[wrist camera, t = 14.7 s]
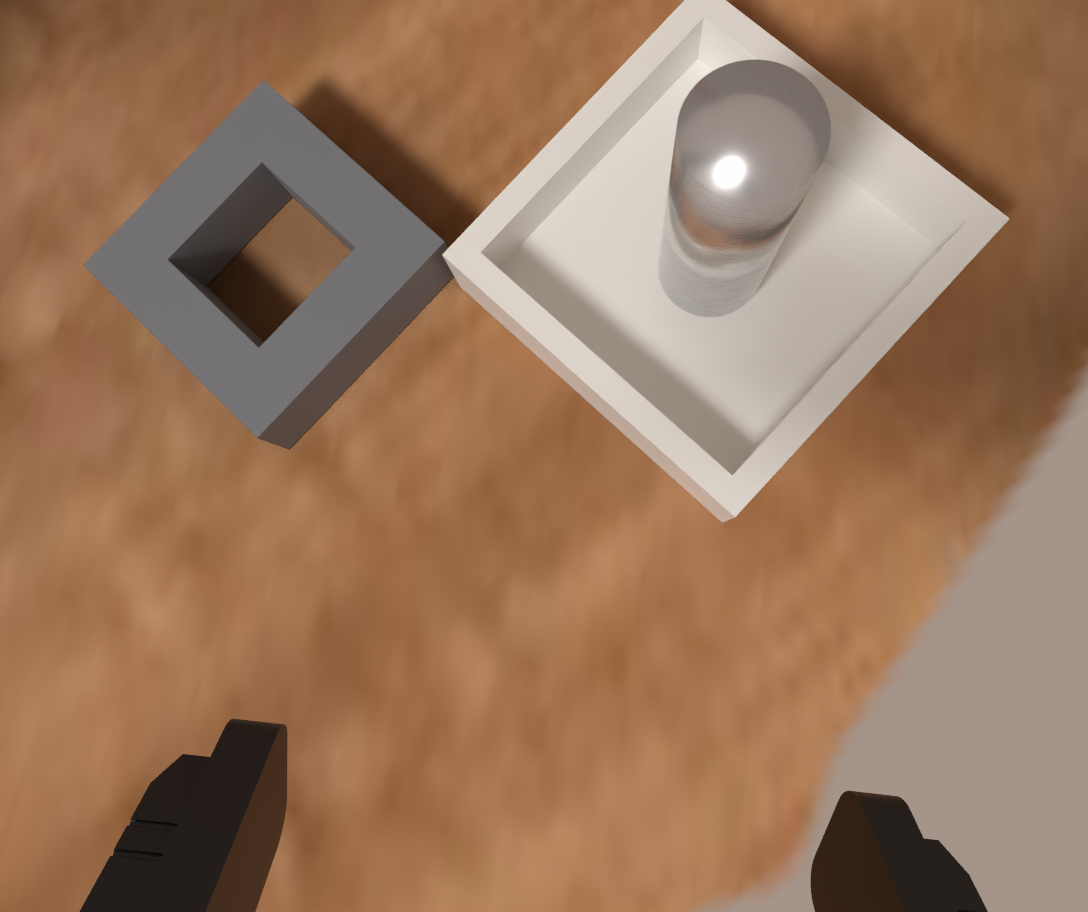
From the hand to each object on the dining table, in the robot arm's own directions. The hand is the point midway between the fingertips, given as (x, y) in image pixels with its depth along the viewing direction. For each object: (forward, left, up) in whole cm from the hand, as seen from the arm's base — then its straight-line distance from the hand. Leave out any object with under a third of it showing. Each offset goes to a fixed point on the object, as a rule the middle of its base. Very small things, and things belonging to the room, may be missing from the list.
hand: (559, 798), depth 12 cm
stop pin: (-7, +14, -18) cm, 24 cm away
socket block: (-19, +2, -19) cm, 27 cm away
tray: (-7, +14, -19) cm, 25 cm away
